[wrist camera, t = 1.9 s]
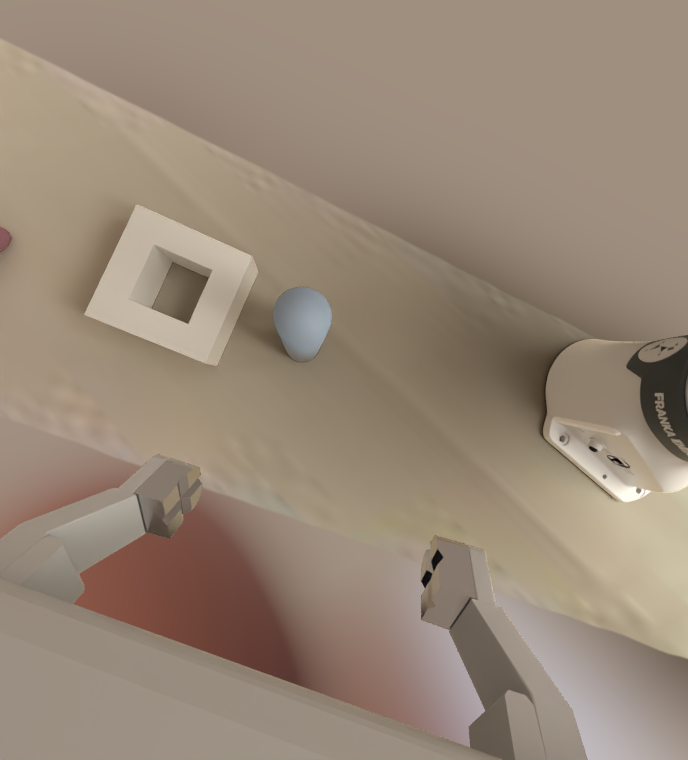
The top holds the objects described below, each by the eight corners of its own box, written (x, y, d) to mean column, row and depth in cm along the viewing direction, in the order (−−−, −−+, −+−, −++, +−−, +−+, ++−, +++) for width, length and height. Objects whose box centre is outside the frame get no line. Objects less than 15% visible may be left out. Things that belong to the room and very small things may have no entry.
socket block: (258, 271, 37) (252, 256, 32) (217, 366, 36) (205, 363, 31) (157, 226, 35) (136, 203, 31) (112, 323, 35) (84, 314, 30)
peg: (326, 347, 38) (343, 320, 22) (300, 369, 37) (299, 357, 21) (304, 322, 37) (306, 275, 21) (278, 343, 37) (260, 311, 21)
